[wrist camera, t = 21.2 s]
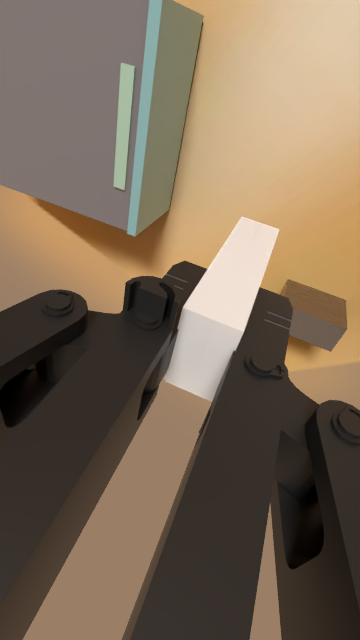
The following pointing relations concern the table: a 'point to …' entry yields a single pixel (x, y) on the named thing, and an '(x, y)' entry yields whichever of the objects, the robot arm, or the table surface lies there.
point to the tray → (162, 108)
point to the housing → (72, 102)
